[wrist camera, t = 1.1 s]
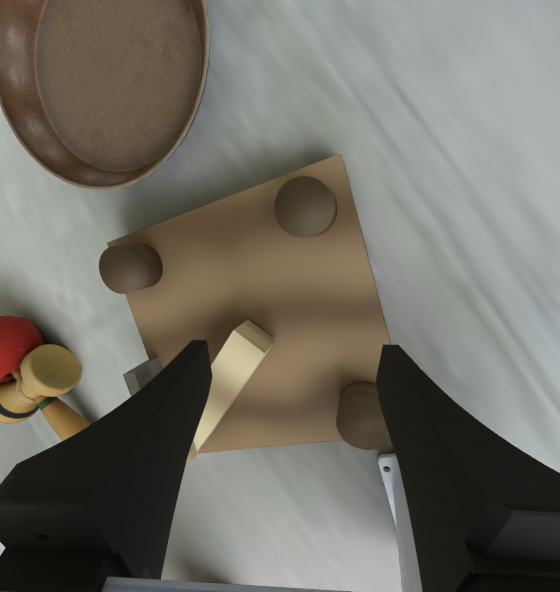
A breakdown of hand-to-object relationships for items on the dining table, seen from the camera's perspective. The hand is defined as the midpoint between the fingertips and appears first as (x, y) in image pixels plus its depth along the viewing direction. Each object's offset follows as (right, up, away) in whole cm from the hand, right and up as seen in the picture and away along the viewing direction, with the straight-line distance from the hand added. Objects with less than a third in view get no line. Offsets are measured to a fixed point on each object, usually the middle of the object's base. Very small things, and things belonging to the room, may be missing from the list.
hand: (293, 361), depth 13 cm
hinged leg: (-5, -4, +10) cm, 12 cm away
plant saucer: (-13, +20, +11) cm, 26 cm away
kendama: (-21, -6, +19) cm, 29 cm away
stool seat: (-2, +1, +11) cm, 12 cm away
